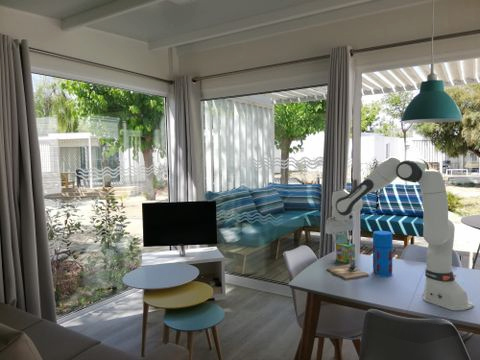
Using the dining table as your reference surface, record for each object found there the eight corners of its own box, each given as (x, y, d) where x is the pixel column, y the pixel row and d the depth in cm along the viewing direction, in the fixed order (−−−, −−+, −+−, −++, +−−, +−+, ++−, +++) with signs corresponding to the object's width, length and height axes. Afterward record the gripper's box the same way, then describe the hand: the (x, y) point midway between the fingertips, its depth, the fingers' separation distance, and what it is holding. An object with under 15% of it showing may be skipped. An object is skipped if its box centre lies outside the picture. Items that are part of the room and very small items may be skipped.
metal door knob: (358, 270, 227) (358, 259, 226) (351, 271, 225) (351, 260, 225) (353, 268, 232) (353, 257, 231) (346, 269, 230) (346, 258, 229)
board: (368, 276, 220) (368, 273, 220) (344, 280, 215) (344, 277, 215) (348, 266, 239) (348, 264, 239) (325, 270, 233) (325, 267, 233)
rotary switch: (340, 244, 220) (340, 234, 219) (333, 242, 225) (333, 232, 224) (346, 243, 223) (347, 233, 222) (339, 241, 228) (340, 231, 227)
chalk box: (335, 261, 252) (335, 239, 251) (343, 258, 258) (343, 237, 257) (348, 263, 245) (348, 241, 244) (355, 260, 251) (355, 239, 250)
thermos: (389, 270, 228) (389, 230, 227) (394, 276, 218) (394, 234, 216) (371, 270, 230) (370, 230, 228) (375, 276, 219) (375, 234, 217)
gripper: (330, 219, 215) (330, 242, 216) (355, 215, 225) (355, 237, 226) (322, 217, 220) (322, 240, 221) (347, 213, 230) (348, 236, 231)
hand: (339, 239), depth 224 cm, fingers closed on rotary switch, 6 cm apart
